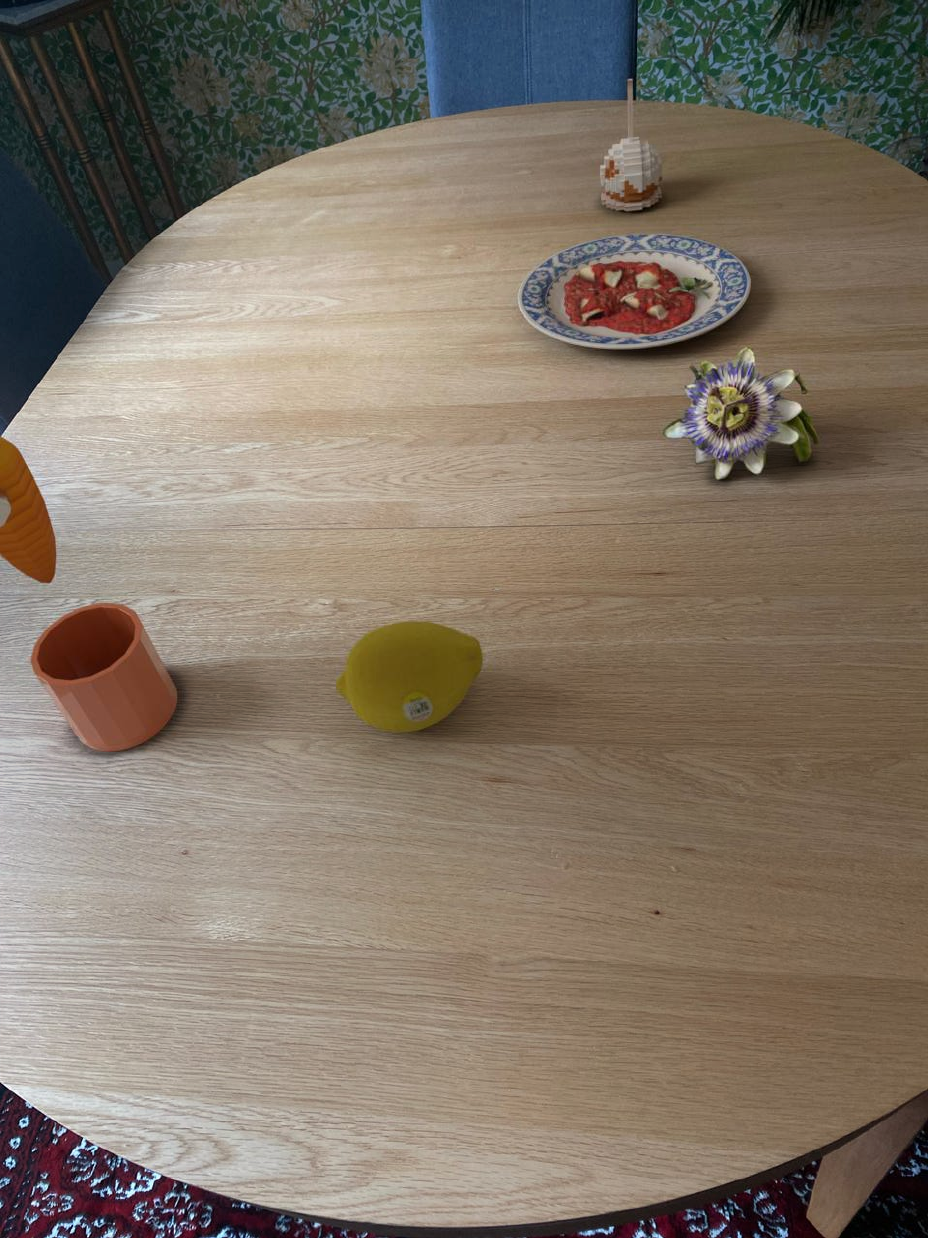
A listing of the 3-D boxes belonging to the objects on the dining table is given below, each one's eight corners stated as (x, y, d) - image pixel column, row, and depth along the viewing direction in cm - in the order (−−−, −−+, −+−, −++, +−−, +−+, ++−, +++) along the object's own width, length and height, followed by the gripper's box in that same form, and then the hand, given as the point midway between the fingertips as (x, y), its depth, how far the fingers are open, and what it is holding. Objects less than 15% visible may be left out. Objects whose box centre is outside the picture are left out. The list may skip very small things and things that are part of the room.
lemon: (343, 758, 72) (318, 688, 66) (352, 677, 77) (329, 606, 72) (490, 746, 71) (477, 674, 65) (489, 665, 76) (477, 592, 71)
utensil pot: (69, 761, 75) (22, 694, 69) (82, 682, 81) (40, 614, 75) (174, 740, 75) (136, 672, 70) (180, 662, 81) (145, 593, 75)
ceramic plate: (493, 359, 107) (490, 334, 105) (548, 249, 124) (547, 226, 122) (735, 371, 100) (737, 345, 98) (760, 252, 116) (762, 227, 114)
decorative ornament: (599, 192, 133) (596, 73, 123) (657, 186, 132) (659, 64, 122) (603, 217, 128) (599, 94, 117) (663, 210, 127) (665, 86, 116)
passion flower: (720, 521, 92) (644, 443, 86) (735, 436, 98) (664, 357, 92) (832, 484, 84) (757, 395, 78) (842, 394, 90) (772, 304, 84)
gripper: (-263, 452, 45) (40, 537, 54) (-230, 281, 59) (7, 371, 68) (-300, 558, 47) (-4, 622, 56) (-260, 369, 61) (-27, 445, 70)
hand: (2, 483), depth 62 cm, fingers closed on carrot, 5 cm apart
